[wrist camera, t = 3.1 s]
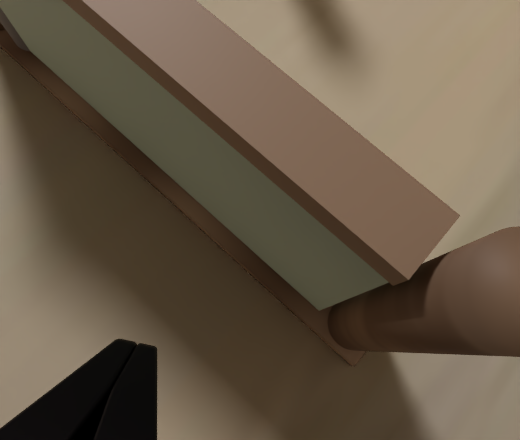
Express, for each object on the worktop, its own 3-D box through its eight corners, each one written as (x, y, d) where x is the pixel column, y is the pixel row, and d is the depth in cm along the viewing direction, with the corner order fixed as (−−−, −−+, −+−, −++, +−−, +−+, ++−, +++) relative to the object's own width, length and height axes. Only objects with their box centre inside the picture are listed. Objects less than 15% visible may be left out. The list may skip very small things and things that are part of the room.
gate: (5, 35, 19) (-191, -233, 10) (35, 12, 20) (-129, -265, 11) (315, 314, 17) (408, 280, 8) (342, 283, 17) (459, 215, 8)
